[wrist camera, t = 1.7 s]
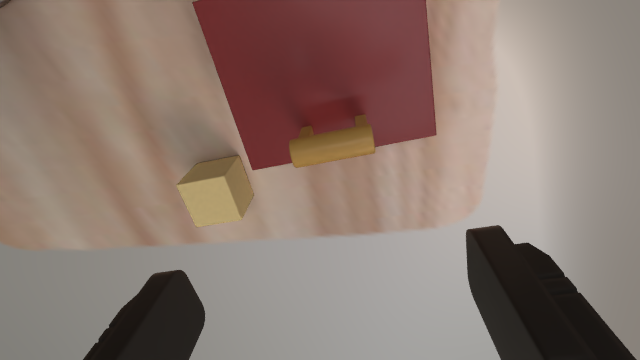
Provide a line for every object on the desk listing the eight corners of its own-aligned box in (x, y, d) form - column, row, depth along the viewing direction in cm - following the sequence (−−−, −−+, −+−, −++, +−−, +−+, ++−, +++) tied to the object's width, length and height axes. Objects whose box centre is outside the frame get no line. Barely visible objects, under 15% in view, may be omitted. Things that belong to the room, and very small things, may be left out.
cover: (433, 131, 22) (457, 164, 17) (254, 166, 24) (233, 203, 19) (418, -62, 17) (444, -88, 12) (196, 2, 19) (150, -1, 14)
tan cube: (213, 202, 32) (196, 227, 28) (196, 163, 30) (175, 185, 26) (254, 194, 31) (241, 220, 27) (239, 154, 29) (224, 176, 26)
